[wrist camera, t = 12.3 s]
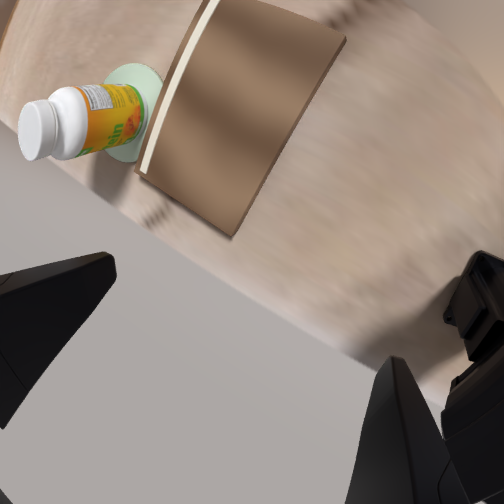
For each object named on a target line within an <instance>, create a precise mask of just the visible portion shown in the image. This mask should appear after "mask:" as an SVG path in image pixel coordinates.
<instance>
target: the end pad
mask: <svg viewBox="0 0 504 504" xmlns="http://www.w3.org/2000/svg"><path fill="white" fill-rule="evenodd" d="M103 84H130V85H134V86H136V87H137V88H139V89H140V90H141V91H142V93H143V94H144V96H145V98H146V101H147V106H148V116H147V122H146V125H145V128H144V130H143V132H142V133H141V135H140V136H139V137H138V138H137V139H136V140H134V141H133V142H131V143H128V144H125V145H120V146H116V147H112V148H108V149H105V151H106V152H107V153H108V154H109V155H110V156H112V157H113V158H115V159H116V160H119V161H122V162H134V161H137V159H138V156H139V152H140V149H141V146H142V142H143V139H144V136H145V133H146V130H147V127H148V124H149V121H150V118H151V115H152V112H153V110H154V107H155V104H156V101H157V99H158V96H159V93H160V91H161V88H162V86H163V81H162V79H161V77H160V76H159V75H158V74H157V72H156V71H154V70H153V69H152V68H150V67H148V66H146V65H143V64H137V63H131V64H126V65H123V66H120V67H119V68H117V69H116V70H114V71H113V72H112V73H111V74H110V75H109V76H108V77H107V78H106V80H105V81H104V83H103Z"/></svg>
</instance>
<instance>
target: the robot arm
mask: <svg viewBox="0 0 504 504" xmlns="http://www.w3.org/2000/svg"><path fill="white" fill-rule="evenodd" d="M481 256H483V258H482V259H481V260H479V258H480V257H481ZM116 277H117V273H116V266H115V259H114V257H113V256H112V255H111V254H109V253H107V252H99V253H94V254H89V255H85V256H80V257H76V258H71V259H67V260H63V261H58V262H54V263H49V264H45V265H41V266H37V267H33V268H28V269H24V270H20V271H16V272H12V273H8V274H4V275H0V428H1V429H4V428H5V427H6V426H7V424H8V422H9V421H10V419H11V418H12V416H13V415H14V413H15V412H16V410H17V409H18V407H19V406H20V405H21V403H22V402H23V400H24V399H25V398H26V396H27V395H28V393H29V391H30V390H31V389H32V388H33V386H34V385H35V383H36V382H37V381H38V379H39V378H40V377H41V375H42V374H43V373H44V371H45V370H46V369H47V367H48V366H49V365H50V364H51V362H52V361H53V360H54V358H55V357H56V356H57V355H58V353H59V352H60V351H61V350H62V348H63V347H64V346H65V345H66V343H67V342H68V341H69V340H70V338H71V337H72V336H73V335H74V334H75V333H76V331H77V330H78V329H79V328H80V327H81V325H82V324H83V323H84V322H85V321H86V320H87V318H88V317H89V316H90V315H91V314H92V312H93V311H94V310H95V308H96V307H97V305H98V304H99V303H100V301H101V300H102V299H103V297H104V296H105V294H106V293H107V292H108V290H109V289H110V288H111V286H112V285H113V284H114V282H115V280H116ZM449 316H451V317H450V318H447V317H449ZM443 319H444V322H445V323H447V324H450V325H453V326H457V327H458V331H459V334H460V338H461V339H464V343H465V347H466V351H467V355H468V359H469V361H472V362H474V363H473V364H472V365H471V366H470V367H469V368H468V369H466V370H465V371H464V372H463V373H462V374H461V375H460V376H457V377H456V378H454V379H453V380H452V382H451V387H450V392H449V395H448V397H447V401H446V405H445V409H444V410H443V411H442V412H441V428H442V436H443V438H442V436H441V434H440V432H439V429H438V427H437V425H436V422H435V420H434V418H433V416H432V414H431V412H430V410H429V407H428V405H427V403H426V401H425V399H424V397H423V395H422V393H421V391H420V389H419V387H418V385H417V383H416V381H415V379H414V377H413V375H412V373H411V371H410V370H409V368H408V366H407V364H406V362H405V360H404V359H403V358H400V357H396V356H389V357H388V358H387V360H386V361H385V363H384V364H383V366H382V367H381V368H380V370H379V371H378V373H377V374H376V377H375V380H374V384H373V388H372V392H371V396H370V400H369V404H368V407H367V411H366V415H365V418H364V422H363V426H362V431H361V436H360V441H359V447H358V452H357V456H356V461H355V465H354V470H353V474H352V478H351V483H350V486H349V490H348V494H347V497H346V501H345V504H475V503H478V502H480V501H482V502H484V503H485V504H504V260H503V259H501V258H498V257H496V256H494V255H492V254H490V253H487V252H485V251H482V250H481V251H478V252H477V253H476V255H475V257H474V259H473V261H472V263H471V265H470V267H469V269H468V271H467V273H466V275H464V277H463V278H462V280H461V282H460V284H459V286H458V288H457V290H456V292H455V293H454V295H453V297H452V299H451V301H450V305H449V306H448V308H447V310H446V311H445V313H444V315H443ZM0 504H13V503H12V502H11V501H10V500H9V499H8V498H7V496H6V495H5V494H4V493H3V492H2V490H1V489H0Z"/></svg>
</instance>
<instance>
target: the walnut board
mask: <svg viewBox="0 0 504 504" xmlns="http://www.w3.org/2000/svg"><path fill="white" fill-rule="evenodd" d="M346 41H347V39H346V36H345V35H344V34H341V33H339V32H337V31H335V30H333V29H331V28H329V27H327V26H325V25H322V24H320V23H318V22H316V21H313V20H311V19H308V18H306V17H304V16H301V15H298V14H296V13H293V12H291V11H288V10H285V9H282V8H279V7H276V6H273V5H270V4H267V3H264V2H261V1H257V0H203V2H202V3H201V5H200V7H199V9H198V11H197V13H196V14H195V16H194V18H193V20H192V22H191V24H190V26H189V28H188V30H187V32H186V34H185V36H184V38H183V40H182V42H181V44H180V46H179V49H178V51H177V53H176V55H175V57H174V60H173V62H172V64H171V66H170V69H169V71H168V74H167V76H166V78H165V81H164V83H163V86H162V88H161V91H160V93H159V96H158V99H157V101H156V104H155V107H154V110H153V112H152V115H151V118H150V121H149V124H148V127H147V130H146V133H145V136H144V139H143V142H142V146H141V149H140V152H139V156H138V159H137V163H136V166H135V170H134V172H135V173H137V174H138V175H140V176H141V177H143V178H144V179H146V180H147V181H149V182H150V183H152V184H153V185H155V186H156V187H158V188H159V189H161V190H162V191H164V192H165V193H167V194H168V195H170V196H171V197H173V198H174V199H176V200H177V201H179V202H180V203H182V204H183V205H185V206H186V207H188V208H189V209H191V210H192V211H194V212H195V213H197V214H198V215H200V216H201V217H203V218H204V219H206V220H207V221H209V222H210V223H211V224H213V225H214V226H216V227H217V228H219V229H220V230H222V231H223V232H225V233H226V234H228V235H229V236H233V235H234V234H235V233H236V232H237V231H238V229H239V227H240V226H241V224H242V222H243V220H244V218H245V216H246V215H247V213H248V211H249V209H250V207H251V205H252V204H253V202H254V200H255V198H256V196H257V195H258V193H259V191H260V189H261V187H262V186H263V184H264V182H265V180H266V178H267V177H268V175H269V173H270V171H271V169H272V168H273V166H274V164H275V162H276V161H277V159H278V157H279V155H280V153H281V152H282V150H283V148H284V146H285V145H286V143H287V141H288V139H289V138H290V136H291V134H292V132H293V131H294V129H295V127H296V125H297V124H298V122H299V120H300V119H301V117H302V115H303V113H304V112H305V110H306V108H307V106H308V105H309V103H310V101H311V100H312V98H313V96H314V95H315V93H316V91H317V89H318V88H319V86H320V84H321V83H322V81H323V79H324V78H325V76H326V74H327V73H328V71H329V69H330V68H331V66H332V64H333V63H334V61H335V59H336V58H337V56H338V54H339V53H340V51H341V49H342V48H343V46H344V44H345V43H346Z"/></svg>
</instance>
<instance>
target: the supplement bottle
mask: <svg viewBox="0 0 504 504" xmlns="http://www.w3.org/2000/svg"><path fill="white" fill-rule="evenodd" d="M147 116H148V106H147V101H146V98H145V96H144V94H143V93H142V91H141V90H140V89H139V88H137V87H136V86H134V85H130V84H100V85H84V86H70V87H64V88H61V89H58V90H57V91H55V92H54V93H53V94H52V95H51V96H50V97H49V99H48V100H38V101H33V102H29V103H27V104H26V105H25V106H24V107H23V109H22V111H21V114H20V117H19V123H18V139H19V145H20V148H21V151H22V153H23V155H24V157H25V158H26V159H27V160H29V161H34V160H38V159H41V158H44V157H47V156H49V155H51V156H52V157H54V158H55V159H58V160H69V159H72V158H76V157H79V156H82V155H86V154H89V153H93V152H96V151H100V150H104V149H108V148H112V147H116V146H120V145H125V144H128V143H131V142H133V141H134V140H136V139H137V138H138V137H139V136H140V135H141V133H142V132H143V130H144V128H145V125H146V122H147Z"/></svg>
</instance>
